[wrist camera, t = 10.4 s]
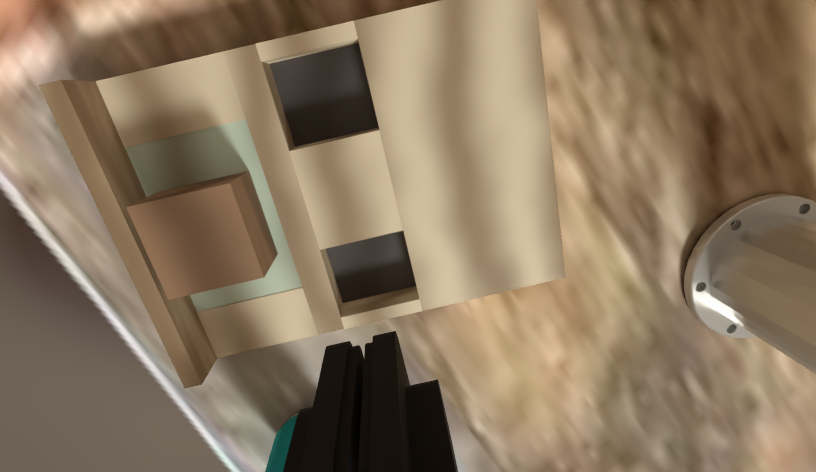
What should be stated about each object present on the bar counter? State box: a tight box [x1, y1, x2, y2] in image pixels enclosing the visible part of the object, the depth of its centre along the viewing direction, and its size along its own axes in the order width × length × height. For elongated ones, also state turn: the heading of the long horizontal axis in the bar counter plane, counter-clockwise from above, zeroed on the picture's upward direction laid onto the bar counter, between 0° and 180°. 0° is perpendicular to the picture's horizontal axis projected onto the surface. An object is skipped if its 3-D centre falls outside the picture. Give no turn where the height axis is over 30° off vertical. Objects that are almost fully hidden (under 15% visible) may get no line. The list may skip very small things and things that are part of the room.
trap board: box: [39, 0, 565, 388], centre depth 29 cm, size 28×20×6 cm
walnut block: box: [126, 171, 278, 300], centre depth 27 cm, size 6×6×4 cm
